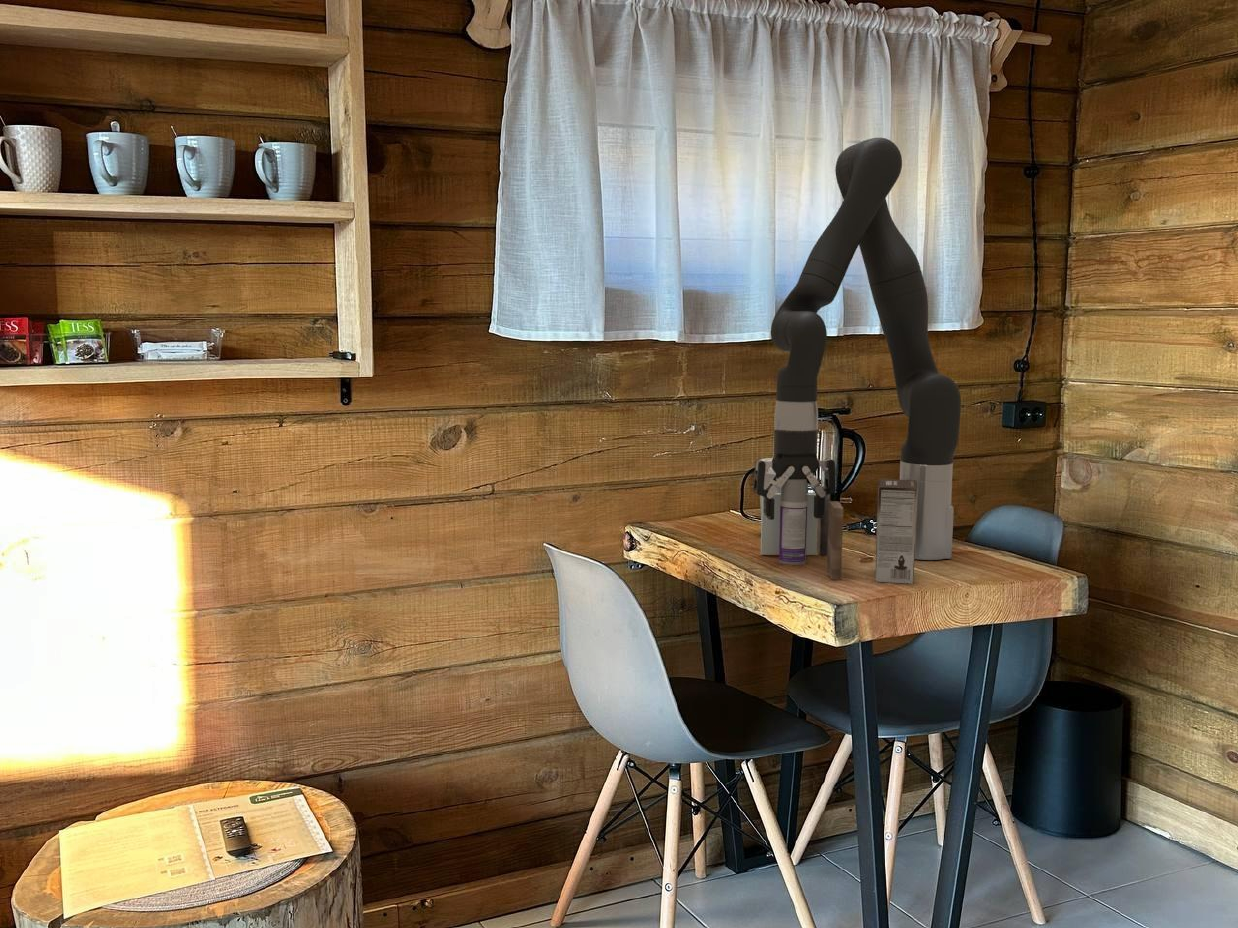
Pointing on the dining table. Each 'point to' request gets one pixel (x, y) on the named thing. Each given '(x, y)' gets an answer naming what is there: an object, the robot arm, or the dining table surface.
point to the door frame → (831, 536)
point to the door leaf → (772, 527)
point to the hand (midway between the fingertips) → (793, 518)
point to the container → (793, 522)
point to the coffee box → (896, 530)
